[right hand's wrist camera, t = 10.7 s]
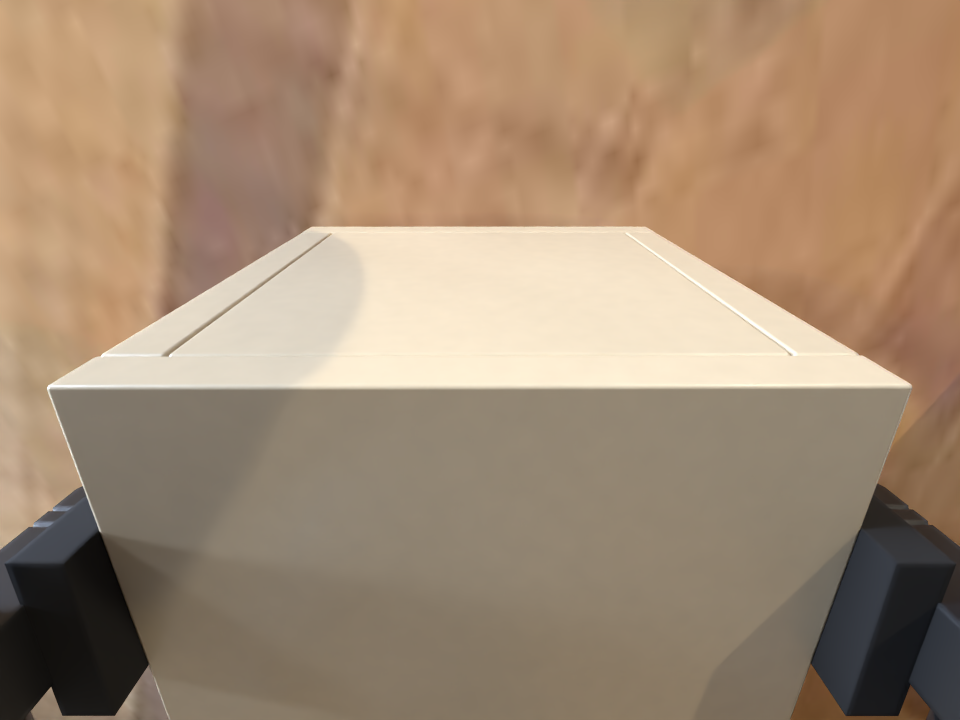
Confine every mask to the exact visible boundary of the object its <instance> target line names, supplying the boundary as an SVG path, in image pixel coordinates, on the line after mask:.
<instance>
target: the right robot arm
mask: <svg viewBox="0 0 960 720" xmlns="http://www.w3.org/2000/svg"><path fill="white" fill-rule="evenodd" d="M811 664H812V666H813V667H814V669H815V670H816V672H817V673H818V675H819V676H820V678H821V679H822V681H823V682H824V684H825V685H826V687H827V688H828V690H829V691H830V693H831V694H832V696H833V697H834V699H835V700H836V702H837V703H838V705H839V706H840V708H841V709H842V711H843V712H844V714H845V715H846V716H898V715H899V713H900V710H901V708H902V705H903V702H904V700H905V697H906V695H907V692H908V689H909V687H910V684H911V686H912V687H913V688H914V689H915V690H916V692H917V693H918V694H919V695H920V696H921V698H922V699H923V700H924V701H925V702H926V704H927V705H928V706H929V707H930V708H931V709H930V711H929V714H928V716H927V718H926V720H960V547H959V546H958V545H957V544H956V543H954V542H953V541H952V540H951V539H949V538H948V537H947V536H946V535H944V534H943V533H942V532H941V531H939V530H938V529H937V528H936V527H934V526H933V525H928V521H927V520H925V519H924V518H923V517H922V516H920V515H919V514H918V513H917V512H915V511H914V510H909V508H908V505H907V504H905V503H904V502H903V501H901V500H900V499H899V498H898V497H896V496H895V495H894V494H893V493H891V492H890V491H889V490H888V489H886V488H885V487H883V486H881V485H879V484H877V485H876V488H875V490H874V493H873V496H872V499H871V501H870V504H869V507H868V509H867V512H866V515H865V518H864V520H863V523H862V526H861V528H860V531H859V534H858V536H857V539H856V542H855V544H854V547H853V550H852V553H851V555H850V558H849V561H848V563H847V566H846V569H845V572H844V574H843V577H842V580H841V582H840V585H839V588H838V591H837V593H836V596H835V599H834V601H833V604H832V607H831V610H830V612H829V615H828V618H827V620H826V623H825V626H824V629H823V631H822V634H821V637H820V639H819V642H818V645H817V648H816V650H815V653H814V656H813V658H812V661H811ZM148 665H149V664H148V661H147V658H146V656H145V653H144V650H143V648H142V645H141V642H140V639H139V637H138V634H137V631H136V629H135V626H134V623H133V621H132V618H131V615H130V612H129V610H128V607H127V604H126V602H125V599H124V596H123V593H122V591H121V588H120V585H119V583H118V580H117V577H116V574H115V572H114V569H113V566H112V564H111V561H110V558H109V555H108V553H107V550H106V547H105V545H104V542H103V539H102V537H101V534H100V531H99V528H98V526H97V523H96V520H95V518H94V515H93V512H92V509H91V507H90V504H89V501H88V499H87V496H86V493H85V490H84V488H83V486H82V487H80V488H78V489H76V490H75V491H73V492H72V493H71V494H70V495H68V496H67V497H66V498H65V499H63V500H62V501H61V502H60V503H58V504H57V505H56V506H55V507H53V511H48V512H47V513H46V514H45V515H43V516H42V517H41V518H40V519H38V520H37V521H36V522H35V523H34V526H33V527H28V528H27V529H26V530H25V531H23V532H22V533H21V534H20V535H18V536H17V537H16V538H15V539H13V540H12V541H11V542H10V543H8V544H7V545H6V546H5V547H3V548H2V549H1V550H0V720H34V718H33V716H32V714H31V710H32V709H33V708H34V706H35V705H36V704H37V703H38V702H39V700H40V699H41V698H42V697H43V695H44V694H45V693H46V692H47V691H48V689H49V688H50V687H52V690H53V692H54V695H55V698H56V700H57V703H58V705H59V708H60V711H61V713H62V716H115V715H116V713H117V712H118V710H119V709H120V707H121V706H122V704H123V703H124V701H125V700H126V698H127V696H128V695H129V693H130V692H131V690H132V689H133V687H134V686H135V684H136V683H137V681H138V680H139V678H140V677H141V675H142V674H143V672H144V671H145V669H146V668H147V666H148Z"/></svg>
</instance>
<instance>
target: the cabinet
mask: <svg viewBox="0 0 960 720" xmlns="http://www.w3.org/2000/svg"><path fill="white" fill-rule="evenodd" d="M911 390H912V385H911V384H910V383H908V382H906V381H905V380H903V379H901V378H900V377H898V376H896V375H895V374H893V373H891V372H890V371H888V370H886V369H885V368H883V367H881V366H879V365H878V364H876V363H874V362H873V361H871V360H869V359H868V358H866V357H864V356H859V355H858V353H856V352H855V351H853V350H851V349H850V348H848V347H846V346H845V345H843V344H841V343H840V342H838V341H836V340H835V339H833V338H831V337H829V336H828V335H826V334H824V333H823V332H821V331H819V330H818V329H816V328H814V327H813V326H811V325H809V324H808V323H806V322H804V321H803V320H801V319H799V318H798V317H796V316H794V315H793V314H791V313H789V312H788V311H786V310H784V309H783V308H781V307H779V306H777V305H776V304H774V303H772V302H771V301H769V300H767V299H766V298H764V297H762V296H761V295H759V294H757V293H756V292H754V291H752V290H751V289H749V288H747V287H746V286H744V285H742V284H741V283H739V282H737V281H736V280H734V279H732V278H730V277H729V276H727V275H725V274H724V273H722V272H720V271H719V270H717V269H715V268H714V267H712V266H710V265H709V264H707V263H705V262H704V261H702V260H700V259H699V258H697V257H695V256H694V255H692V254H690V253H689V252H687V251H685V250H684V249H682V248H680V247H678V246H677V245H675V244H673V243H672V242H670V241H668V240H667V239H665V238H663V237H662V236H660V235H658V234H657V233H655V232H654V231H652V230H650V229H649V228H647V227H311V228H309V229H307V230H306V231H304V232H303V233H302V234H300V235H298V236H297V237H295V238H293V239H292V240H290V241H288V242H287V243H285V244H283V245H282V246H280V247H278V248H277V249H275V250H273V251H272V252H270V253H268V254H267V255H265V256H264V257H262V258H260V259H259V260H257V261H255V262H254V263H252V264H250V265H249V266H247V267H245V268H244V269H242V270H240V271H239V272H237V273H235V274H234V275H232V276H231V277H229V278H227V279H226V280H224V281H222V282H221V283H219V284H217V285H216V286H214V287H212V288H211V289H209V290H207V291H206V292H204V293H202V294H201V295H199V296H198V297H196V298H194V299H193V300H191V301H189V302H188V303H186V304H184V305H183V306H181V307H179V308H178V309H176V310H174V311H173V312H171V313H169V314H168V315H166V316H165V317H163V318H161V319H160V320H158V321H156V322H155V323H153V324H151V325H150V326H148V327H146V328H145V329H143V330H141V331H140V332H138V333H136V334H135V335H133V336H132V337H130V338H128V339H127V340H125V341H123V342H122V343H120V344H118V345H117V346H115V347H113V348H112V349H110V350H108V351H107V352H105V353H103V354H102V356H101V357H95V358H93V359H92V360H90V361H88V362H87V363H85V364H83V365H82V366H80V367H78V368H77V369H75V370H74V371H72V372H70V373H69V374H67V375H65V376H64V377H62V378H60V379H59V380H57V381H55V382H54V383H52V384H50V385H49V386H48V393H49V396H50V398H51V401H52V404H53V406H54V409H55V412H56V415H57V417H58V420H59V423H60V425H61V428H62V431H63V434H64V436H65V439H66V442H67V444H68V447H69V450H70V453H71V455H72V458H73V461H74V463H75V466H76V469H77V471H78V474H79V477H80V480H81V482H82V485H83V488H84V490H85V493H86V496H87V499H88V501H89V504H90V507H91V509H92V512H93V515H94V518H95V520H96V523H97V526H98V528H99V531H100V534H101V537H102V539H103V542H104V545H105V547H106V550H107V553H108V555H109V558H110V561H111V564H112V566H113V569H114V572H115V574H116V577H117V580H118V583H119V585H120V588H121V591H122V593H123V596H124V599H125V602H126V604H127V607H128V610H129V612H130V615H131V618H132V621H133V623H134V626H135V629H136V631H137V634H138V637H139V639H140V642H141V645H142V648H143V650H144V653H145V656H146V658H147V661H148V664H149V667H150V669H151V672H152V675H153V677H154V680H155V683H156V686H157V688H158V691H159V694H160V696H161V699H162V702H163V704H164V707H165V710H166V713H167V715H168V718H169V720H790V718H791V715H792V713H793V710H794V707H795V705H796V702H797V699H798V696H799V694H800V691H801V688H802V686H803V683H804V680H805V677H806V675H807V672H808V669H809V667H810V664H811V661H812V658H813V656H814V653H815V650H816V648H817V645H818V642H819V639H820V637H821V634H822V631H823V629H824V626H825V623H826V620H827V618H828V615H829V612H830V610H831V607H832V604H833V601H834V599H835V596H836V593H837V591H838V588H839V585H840V582H841V580H842V577H843V574H844V572H845V569H846V566H847V563H848V561H849V558H850V555H851V553H852V550H853V547H854V544H855V542H856V539H857V536H858V534H859V531H860V528H861V526H862V523H863V520H864V518H865V515H866V512H867V509H868V507H869V504H870V501H871V499H872V496H873V493H874V490H875V488H876V485H877V482H878V480H879V477H880V474H881V472H882V469H883V466H884V463H885V461H886V458H887V455H888V453H889V450H890V447H891V444H892V442H893V439H894V436H895V434H896V431H897V428H898V425H899V423H900V420H901V417H902V415H903V412H904V409H905V406H906V404H907V401H908V398H909V396H910V393H911Z"/></svg>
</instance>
